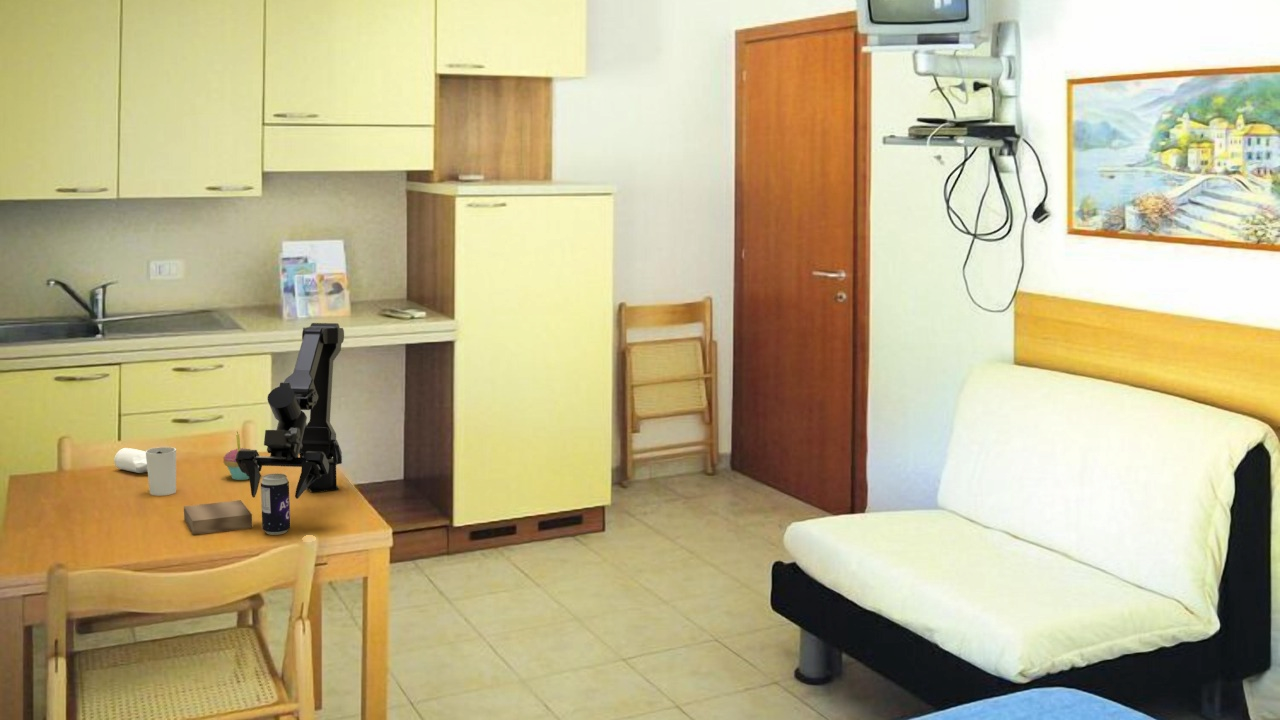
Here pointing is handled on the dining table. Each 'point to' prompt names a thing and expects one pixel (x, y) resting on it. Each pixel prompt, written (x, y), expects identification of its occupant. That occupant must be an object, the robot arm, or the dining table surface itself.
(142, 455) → the roll
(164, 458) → the grey cylinder
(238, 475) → the cupcake
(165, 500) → the dining table surface
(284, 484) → the beverage can
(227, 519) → the walnut base
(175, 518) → the dining table surface
